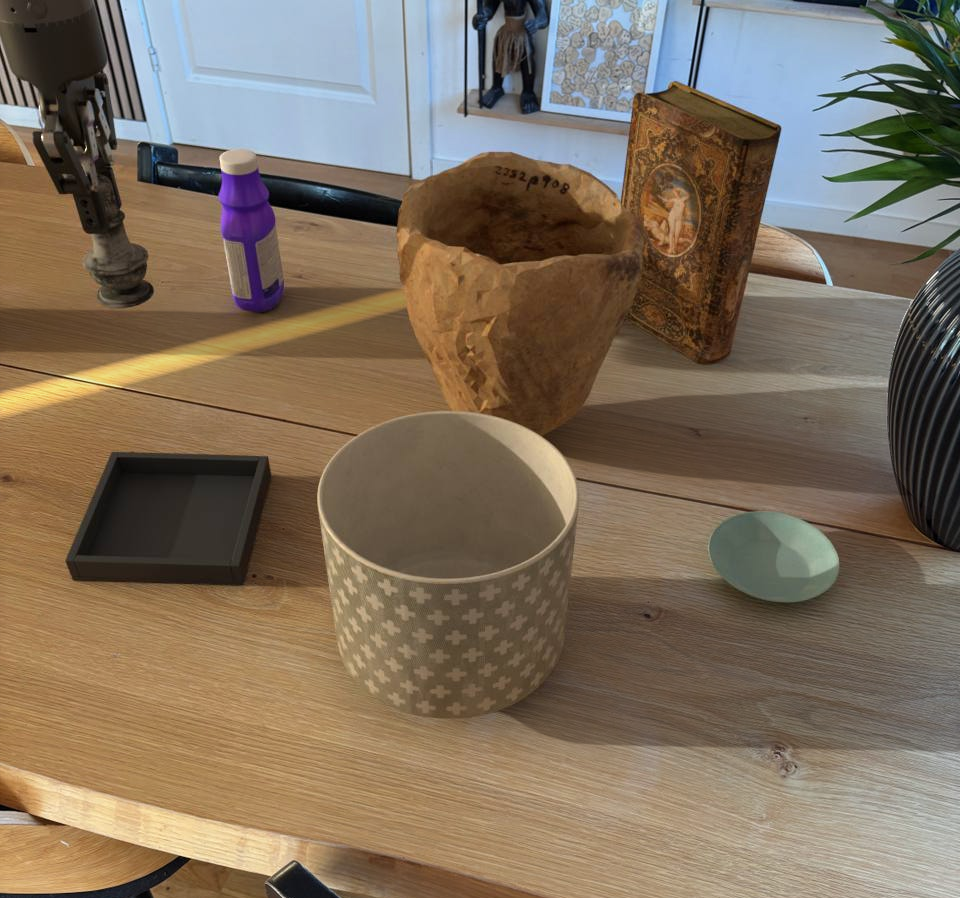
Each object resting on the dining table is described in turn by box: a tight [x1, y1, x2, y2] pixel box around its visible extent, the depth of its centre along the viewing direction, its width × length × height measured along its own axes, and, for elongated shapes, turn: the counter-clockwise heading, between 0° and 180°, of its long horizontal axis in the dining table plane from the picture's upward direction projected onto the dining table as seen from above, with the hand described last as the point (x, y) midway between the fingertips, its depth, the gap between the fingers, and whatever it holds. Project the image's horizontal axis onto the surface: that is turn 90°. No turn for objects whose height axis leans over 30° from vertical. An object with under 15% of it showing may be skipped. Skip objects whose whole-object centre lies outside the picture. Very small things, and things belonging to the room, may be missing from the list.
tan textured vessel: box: [396, 151, 645, 437], centre depth 98 cm, size 22×22×25 cm
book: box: [620, 80, 782, 365], centre depth 112 cm, size 16×6×25 cm, turn 39°
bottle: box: [218, 148, 285, 313], centre depth 118 cm, size 7×6×17 cm
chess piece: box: [82, 173, 155, 309], centre depth 91 cm, size 6×6×12 cm
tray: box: [64, 451, 272, 586], centre depth 96 cm, size 16×16×2 cm
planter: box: [316, 410, 580, 720], centre depth 80 cm, size 19×19×18 cm
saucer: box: [707, 510, 840, 603], centre depth 93 cm, size 12×12×2 cm
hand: (103, 220), depth 91 cm, fingers closed on chess piece, 3 cm apart
